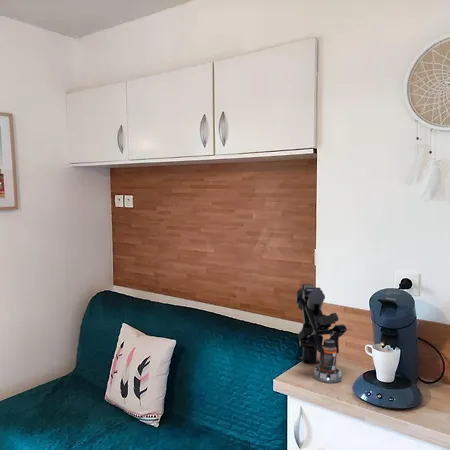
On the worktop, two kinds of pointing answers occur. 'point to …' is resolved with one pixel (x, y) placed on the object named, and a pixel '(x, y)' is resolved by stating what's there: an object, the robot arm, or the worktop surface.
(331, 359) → the supplement bottle
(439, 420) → the worktop surface
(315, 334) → the robot arm
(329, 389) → the worktop surface
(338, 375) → the ring collar
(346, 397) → the worktop surface
